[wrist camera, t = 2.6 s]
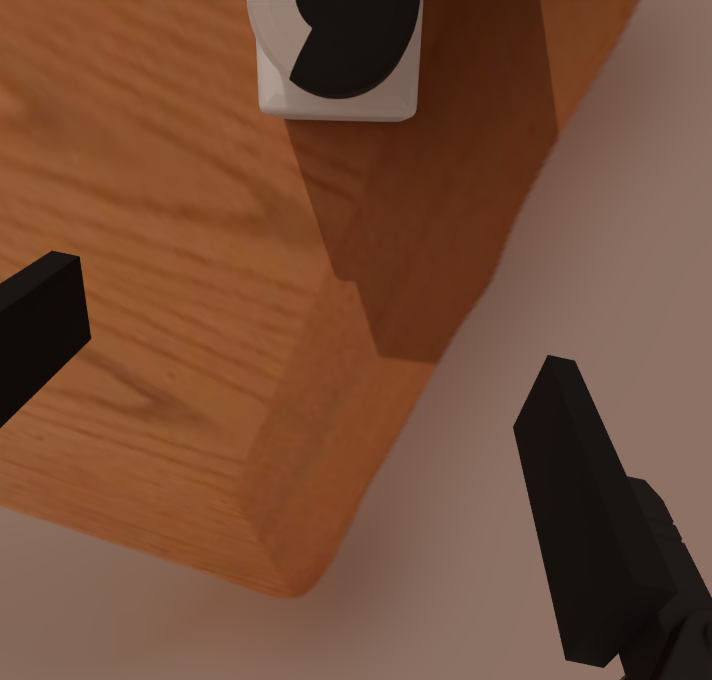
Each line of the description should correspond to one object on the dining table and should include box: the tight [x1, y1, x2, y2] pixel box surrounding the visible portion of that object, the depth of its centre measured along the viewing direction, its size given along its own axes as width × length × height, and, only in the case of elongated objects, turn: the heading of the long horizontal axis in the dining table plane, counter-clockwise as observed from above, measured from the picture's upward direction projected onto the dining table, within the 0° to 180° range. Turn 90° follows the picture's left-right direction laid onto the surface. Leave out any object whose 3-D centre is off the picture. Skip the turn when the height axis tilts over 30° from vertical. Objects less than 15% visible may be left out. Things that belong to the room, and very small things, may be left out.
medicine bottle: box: [246, 0, 423, 122], centre depth 22 cm, size 7×7×12 cm
